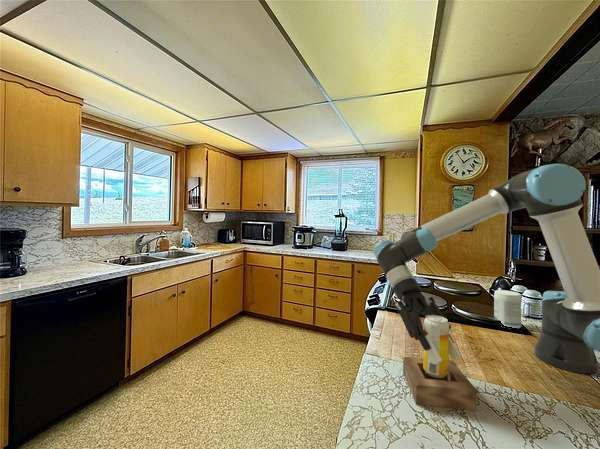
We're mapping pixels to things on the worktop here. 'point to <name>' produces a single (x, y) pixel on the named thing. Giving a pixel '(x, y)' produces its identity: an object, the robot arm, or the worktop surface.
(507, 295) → the supplement tub
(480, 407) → the worktop surface
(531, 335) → the worktop surface
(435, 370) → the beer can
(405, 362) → the walnut socket holder
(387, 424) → the worktop surface
